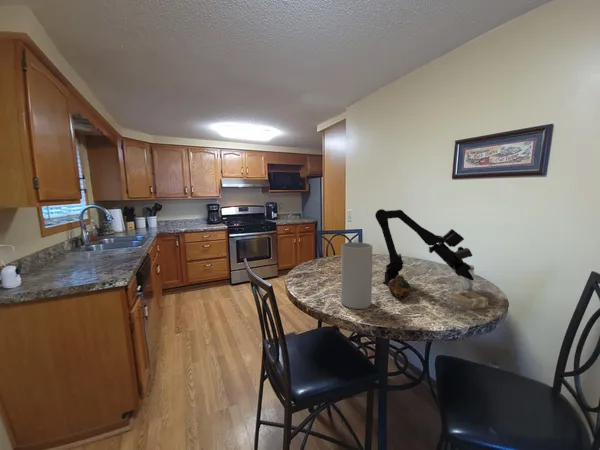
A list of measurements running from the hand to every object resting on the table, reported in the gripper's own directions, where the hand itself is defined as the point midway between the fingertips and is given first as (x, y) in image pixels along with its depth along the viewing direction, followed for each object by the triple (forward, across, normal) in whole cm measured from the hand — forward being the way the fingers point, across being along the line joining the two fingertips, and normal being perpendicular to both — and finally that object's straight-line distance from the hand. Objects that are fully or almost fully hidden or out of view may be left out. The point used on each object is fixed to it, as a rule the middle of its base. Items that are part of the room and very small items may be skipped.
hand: (471, 278), depth 112 cm
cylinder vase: (-30, -29, +40) cm, 58 cm away
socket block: (+1, -15, +8) cm, 17 cm away
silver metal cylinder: (+4, 0, +6) cm, 7 cm away
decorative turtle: (-18, -14, +27) cm, 35 cm away
